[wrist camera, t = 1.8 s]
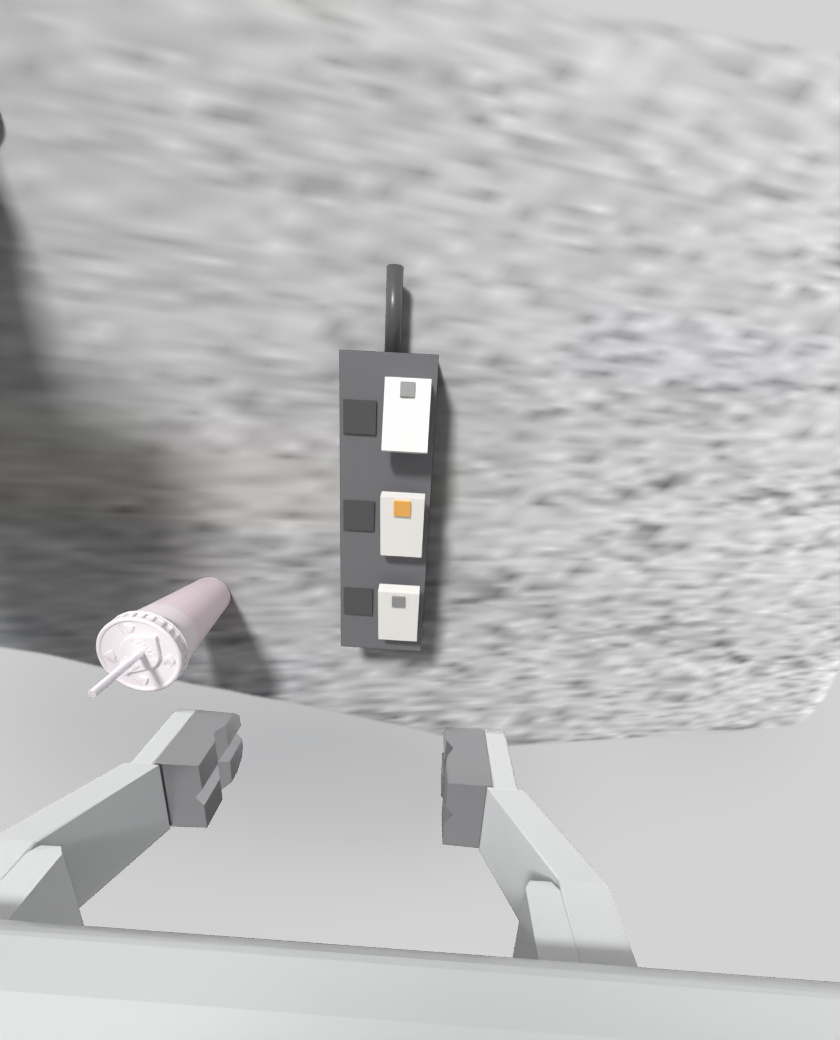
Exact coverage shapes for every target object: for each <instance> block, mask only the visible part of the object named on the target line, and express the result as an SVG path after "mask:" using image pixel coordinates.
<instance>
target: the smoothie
mask: <svg viewBox="0 0 840 1040" xmlns="http://www.w3.org/2000/svg"><path fill="white" fill-rule="evenodd" d="M230 598H231V596H230V592H229V589H228V588H227V586H226V585H225V584H224V583H223V582H222V581H220V580H218V579H216V578H213V577H204V578H201V579H199V580H197V581H195V582H193V583H191V584H189V585H187V586H185V587H183V588H181V589H179V590H177V591H175V592H173V593H171V594H169V595H167V596H165V597H163V598H161V599H159V600H157V601H155V602H153V603H151V604H149V605H147V606H145V607H143V608H141V609H139V610H137V611H128V612H125V613H123V614H120V615H118V616H117V617H115V618H114V619H113V620H112V621H111V622H109V623H108V624H106V625H105V626H104V627H103V628H102V629H101V631H100V632H99V634H98V637H97V641H96V651H97V656H98V658H99V661H100V663H101V665H102V666H103V668H104V669H105V671H106V672H107V673H108V675H107V676H106V677H105V678H103V679H102V680H101V681H100V682H99V683H97V684H96V685H95V686H94V687H92V688H91V689H90V690H89V691H88V692H87V695H88V696H89V697H90V698H95V697H96V696H97V695H98V694H99V693H100V692H101V691H103V690H104V689H105V688H106V687H108V686H109V685H110V684H111V683H112V682H113V681H115V680H116V681H117V682H119V683H121V684H122V685H124V686H126V687H129V688H131V689H135V690H139V691H157V690H161V689H164V688H166V687H168V686H169V685H171V684H172V683H173V682H174V681H175V680H176V679H177V678H179V677H180V676H181V675H182V674H183V673H184V671H185V670H186V669H187V666H188V662H189V658H190V657H191V655H192V654H193V653H194V651H195V650H196V648H197V647H198V646H199V644H200V643H201V642H202V640H203V639H204V637H205V636H206V635H207V633H208V632H209V631H210V629H211V628H212V627H213V625H214V624H215V622H216V621H217V620H218V618H219V617H220V616H221V614H222V613H223V612H224V610H225V609H226V607H227V606H228V605H229V603H230Z"/></svg>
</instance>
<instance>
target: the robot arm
mask: <svg viewBox="0 0 840 1040" xmlns="http://www.w3.org/2000/svg"><path fill="white" fill-rule="evenodd" d="M240 726H241V724H240V717H239V715H237V714H234V713H224V712H213V711H202V710H199V711H197V710H187V709H186V710H185V709H179V710H177V711H175V712H174V713H173V714H172V715H171V716H170V717H169V718H168V719H167V721H166V722H165V723H164V724H163V725H162V726H161V728H160V729H159V730H158V731H157V732H156V733H155V735H154V736H153V737H152V738H151V739H150V741H149V742H148V743H147V744H146V745H145V746H144V747H143V748H142V750H141V751H140V752H139V753H138V754H137V756H136V757H135V758H134V759H133V760H132V761H131V762H130V763H122V764H120V765H119V766H117V767H115V768H113V769H112V770H110V771H108V772H106V773H105V774H103V775H101V776H99V777H98V778H96V779H94V780H92V781H91V782H89V783H87V784H85V785H84V786H82V787H80V788H78V789H77V790H75V791H73V792H71V793H70V794H68V795H66V796H64V797H63V798H61V799H59V800H57V801H56V802H54V803H52V804H50V805H49V806H47V807H45V808H43V809H42V810H40V811H38V812H36V813H35V814H33V815H31V816H29V817H28V818H26V819H24V820H22V821H21V822H19V823H17V824H15V825H13V826H12V827H10V828H8V829H7V830H5V831H3V832H1V833H0V1040H840V982H829V981H815V980H802V979H789V978H775V977H762V976H746V975H735V974H722V973H709V972H695V971H682V970H669V969H654V968H642V967H638V966H637V964H636V961H635V958H634V956H633V953H632V950H631V947H630V945H629V942H628V939H627V936H626V934H625V931H624V928H623V926H622V923H621V920H620V918H619V915H618V912H617V909H616V907H615V904H614V901H613V898H612V896H611V893H610V891H609V887H608V885H607V883H606V882H605V881H604V880H603V879H602V878H601V877H600V876H599V874H598V873H597V872H596V871H595V870H594V869H593V868H592V866H591V865H590V864H589V863H588V862H587V861H586V860H585V858H584V857H583V856H582V855H581V854H580V853H579V852H578V851H577V849H576V848H575V847H574V846H573V845H572V844H571V843H570V842H569V840H568V839H567V838H566V837H565V836H564V835H563V834H562V833H561V831H560V830H559V829H558V828H557V827H556V826H555V825H554V823H553V822H552V821H551V820H550V819H549V818H548V817H547V816H546V814H545V813H544V812H543V811H542V810H541V809H540V808H539V806H538V805H537V804H535V802H534V801H533V800H532V799H531V797H530V796H529V795H528V794H527V793H526V792H525V791H524V790H520V789H517V784H516V780H515V775H514V771H513V767H512V762H511V758H510V754H509V749H508V745H507V740H506V736H505V733H504V731H503V730H490V729H483V730H482V729H469V728H451V727H445V730H444V752H443V754H442V769H441V796H442V798H443V806H442V838H443V844H445V845H455V846H464V847H474V848H479V851H480V852H481V854H482V856H483V858H484V860H485V861H486V863H487V865H488V867H489V869H490V870H491V872H492V874H493V876H494V877H495V879H496V881H497V882H498V884H499V886H500V888H501V890H502V891H503V893H504V895H505V896H506V898H507V900H508V902H509V904H510V905H511V907H512V909H513V911H514V912H515V914H516V916H517V918H518V920H519V926H518V931H517V937H516V943H515V947H514V953H513V958H508V957H495V956H483V955H469V954H456V953H443V952H442V953H441V952H429V951H415V950H402V949H389V948H376V947H375V948H374V947H362V946H349V945H335V944H322V943H309V942H295V941H282V940H267V939H255V938H241V937H228V936H215V935H200V934H188V933H175V932H161V931H148V930H135V929H121V928H108V927H94V926H84V924H83V921H82V917H81V914H80V910H79V908H80V907H81V906H82V905H83V904H84V903H86V902H87V901H88V900H89V899H90V898H91V897H92V896H94V895H95V894H96V893H97V892H98V891H99V890H100V889H102V888H103V887H104V886H105V885H106V884H107V883H108V882H110V881H111V880H112V879H113V878H114V877H115V876H116V875H118V874H119V873H120V872H121V871H122V870H123V869H124V868H126V866H128V865H129V864H130V863H131V862H132V861H134V860H135V859H136V858H137V857H138V856H139V855H140V854H142V853H143V852H144V851H145V850H146V849H147V848H148V847H150V846H151V845H152V844H153V843H154V842H155V841H156V840H158V839H159V838H160V837H161V836H162V835H163V834H164V833H166V832H167V831H168V830H169V829H170V826H179V827H206V828H207V827H208V825H209V823H210V821H211V819H212V817H213V815H214V814H215V812H216V810H217V808H218V806H219V805H220V803H221V801H222V792H221V790H222V789H223V788H224V787H226V786H227V785H228V784H229V783H231V782H232V780H233V779H234V777H235V774H236V773H237V771H238V768H239V764H240V761H241V758H242V750H243V745H242V739H241V738H240V737H239V736H238V735H237V731H238V730H239V728H240Z"/></svg>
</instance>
